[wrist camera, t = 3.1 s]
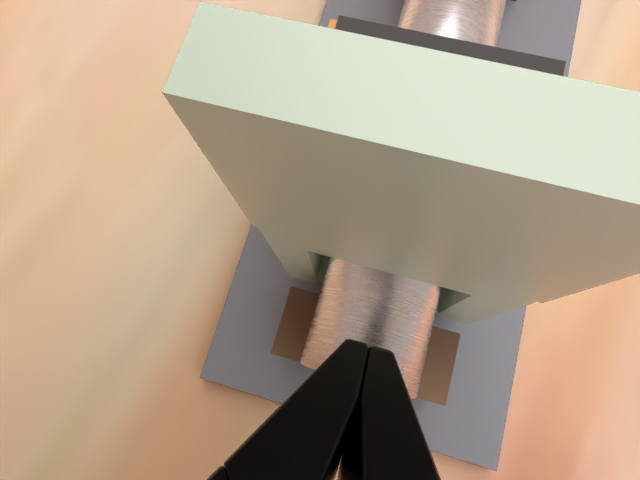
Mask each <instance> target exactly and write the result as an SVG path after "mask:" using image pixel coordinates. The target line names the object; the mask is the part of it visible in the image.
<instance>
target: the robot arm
mask: <svg viewBox="0 0 640 480" xmlns="http://www.w3.org/2000/svg"><path fill="white" fill-rule="evenodd" d="M340 460H341V461H340ZM339 463H340V466H339ZM338 466H339V472H338V479H337V480H441V479H440V476H439V473H438V471H437V468H436V465H435V463H434V460H433V457H432V455H431V452H430V449H429V447H428V444H427V441H426V439H425V436H424V433H423V430H422V428H421V425H420V422H419V420H418V417H417V414H416V412H415V409H414V406H413V404H412V401H411V398H410V395H409V393H408V390H407V387H406V385H405V382H404V379H403V377H402V374H401V371H400V369H399V366H398V363H397V361H396V358H395V355H394V353H393V352H392V351H391V350H388V349H384V348H381V347H377V346H371V347H370V348H369V346H368V344H366V343H363V342H360V341H356V340H353V339H346V340H345V341H344V342H343V343H342V344H341V345H340V346H339V347H338V348H337V349H336V350H335V351H334V352H333V353H332V354H331V355H330V356H329V357H328V358H327V359H326V360H325V361H324V362H323V363H322V364H321V365H320V366H319V367H318V368H317V369H316V370H315V371H314V372H313V373H312V374H311V375H310V376H309V377H308V378H307V379H306V380H305V381H304V382H303V383H302V384H301V385H300V386H299V387H298V388H297V389H296V390H295V391H294V392H293V393H292V394H291V395H290V396H289V397H288V398H287V399H286V400H285V401H284V402H283V403H282V404H281V405H280V406H279V407H278V408H277V409H276V410H275V411H274V412H273V414H272V415H271V416H270V417H269V418H268V419H267V420H266V421H265V422H264V423H263V424H262V425H261V426H260V427H259V428H258V429H257V430H256V431H255V432H254V433H253V434H252V435H251V436H250V437H249V438H248V439H247V440H246V441H245V442H244V443H243V444H242V445H241V446H240V447H239V448H238V449H237V450H236V451H235V452H234V453H233V454H232V455H231V456H230V457H229V458H228V459H227V460H226V461H225V462H224V466H220V467H219V468H218V469H217V470H216V471H215V472H214V473H213V474H212V475H211V476H210V477H209V478H208V479H207V480H334V478H335V475H336V472H337V470H338Z"/></svg>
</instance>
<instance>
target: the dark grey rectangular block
mask: <svg viewBox="0 0 640 480" xmlns="http://www.w3.org/2000/svg"><path fill="white" fill-rule="evenodd" d="M335 29H337V30H341V31H346V32H351V33H356V34H361V35H366V36H370V37H375V38H380V39H385V40H390V41H395V42H400V43H404V44H409V45H414V46H419V47H424V48H429V49H433V50H438V51H443V52H448V53H453V54H458V55H462V56H467V57H472V58H477V59H482V60H487V61H491V62H496V63H501V64H506V65H511V66H516V67H521V68H525V69H530V70H535V71H540V72H545V73H550V74H554V75H559V76H563V75H564V70H565V64H566V61H563V60H558V59H553V58H548V57H543V56H538V55H533V54H528V53H523V52H518V51H513V50H508V49H503V48H498V47H494V46H489V45H484V44H479V43H474V42H469V41H464V40H459V39H454V38H449V37H444V36H439V35H434V34H429V33H424V32H419V31H415V30H410V29H405V28H400V27H395V26H390V25H385V24H380V23H375V22H370V21H365V20H360V19H355V18H350V17H345V16H340V15H339V17H338V20H337V23H336V26H335Z"/></svg>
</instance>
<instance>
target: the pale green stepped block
mask: <svg viewBox="0 0 640 480" xmlns="http://www.w3.org/2000/svg"><path fill="white" fill-rule="evenodd" d="M162 93H163V94H164V96H165V97H166V99H167V100H168V102H169V103H170V105H171V106H172V108H173V109H174V111H175V112H176V113H177V115H178V116H179V118H180V119H181V121H182V122H183V124H184V125H185V127H186V128H187V130H188V131H189V133H190V134H191V136H192V137H193V138H194V140H195V141H196V143H197V144H198V146H199V147H200V149H201V150H202V152H203V153H204V155H205V156H206V158H207V159H208V161H209V162H210V163H211V165H212V166H213V168H214V169H215V171H216V172H217V174H218V175H219V177H220V178H221V180H222V181H223V183H224V184H225V185H226V187H227V188H228V190H229V191H230V193H231V194H232V196H233V197H234V199H235V200H236V202H237V203H238V205H239V206H240V208H241V209H242V210H243V212H244V213H245V215H246V216H247V218H248V219H249V221H250V222H251V224H252V225H253V226H255V227H258V229H259V230H260V232H261V233H262V235H263V236H264V238H265V239H266V241H267V242H268V244H269V246H270V247H271V249H272V250H273V252H274V253H275V255H276V256H277V258H278V259H279V261H280V262H281V264H282V265H283V267H284V268H285V270H286V272H287V273H288V275H289V276H290V277H293V278H296V279H300V280H303V281H307V282H311V283H314V284H318V285H321V286H322V285H323V282H324V278H325V275H326V271H327V268H328V264H329V261H330V258H331V257H332V258H336V259H340V260H343V261H347V262H351V263H355V264H358V265H362V266H366V267H369V268H373V269H377V270H381V271H384V272H388V273H392V274H395V275H399V276H403V277H406V278H410V279H414V280H418V281H421V282H425V283H429V284H432V285H436V286H440V287H441V291H440V296H439V300H438V305H437V309H436V313H435V317H436V318H440V319H443V320H447V321H451V322H454V323H458V324H461V325H466V324H469V323H472V322H475V321H478V320H481V319H484V318H488V317H491V316H494V315H497V314H500V313H503V312H506V311H509V310H512V309H516V308H519V307H522V306H525V305H528V304H531V303H534V302H539V303H544V302H547V301H550V300H554V299H557V298H560V297H563V296H567V295H570V294H573V293H577V292H580V291H583V290H586V289H590V288H593V287H596V286H599V285H603V284H606V283H609V282H612V281H616V280H619V279H622V278H626V277H629V276H632V275H635V274H639V273H640V92H637V91H632V90H627V89H622V88H617V87H612V86H608V85H603V84H598V83H593V82H588V81H583V80H579V79H574V78H569V77H564V76H559V75H554V74H550V73H545V72H540V71H535V70H530V69H525V68H521V67H516V66H511V65H506V64H501V63H496V62H491V61H487V60H482V59H477V58H472V57H467V56H462V55H458V54H453V53H448V52H443V51H438V50H433V49H429V48H424V47H419V46H414V45H409V44H404V43H400V42H395V41H390V40H385V39H380V38H375V37H370V36H366V35H361V34H356V33H351V32H346V31H341V30H337V29H332V28H327V27H322V26H317V25H312V24H308V23H303V22H298V21H293V20H288V19H283V18H279V17H274V16H269V15H264V14H259V13H254V12H249V11H245V10H240V9H235V8H230V7H225V6H220V5H216V4H211V3H206V2H201V1H200V2H199V5H198V7H197V10H196V12H195V14H194V17H193V19H192V22H191V24H190V26H189V29H188V31H187V34H186V36H185V38H184V41H183V43H182V46H181V48H180V50H179V53H178V55H177V58H176V60H175V62H174V65H173V67H172V70H171V72H170V74H169V77H168V79H167V82H166V84H165V86H164V89H163V91H162Z"/></svg>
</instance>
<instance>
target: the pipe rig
mask: <svg viewBox="0 0 640 480" xmlns="http://www.w3.org/2000/svg"><path fill="white" fill-rule="evenodd" d="M580 5H581V0H327V3H326V6H325V9H324V12H323V15H322V18H321V21H320V24H319V26H322V27H327V28H332V29H335V26H336V23H337V20H338V17H339V15H340V16H345V17H350V18H355V19H360V20H365V21H370V22H375V23H380V24H385V25H390V26H395V27H400V28H405V29H410V30H415V31H419V32H424V33H429V34H434V35H439V36H444V37H449V38H454V39H459V40H464V41H469V42H474V43H479V44H484V45H489V46H494V47H498V48H503V49H508V50H513V51H518V52H523V53H528V54H533V55H538V56H543V57H548V58H553V59H558V60H563V61H566V64H565V70H564V75H563V76H564V77H568V71H569V66H570V60H571V55H572V49H573V44H574V38H575V32H576V27H577V21H578V16H579V10H580ZM440 291H441V287H440V286H436V285H432V284H429V283H425V282H421V281H418V280H414V279H410V278H406V277H403V276H399V275H395V274H392V273H388V272H384V271H381V270H377V269H373V268H369V267H366V266H362V265H358V264H355V263H351V262H347V261H343V260H340V259H336V258H332V257H331V258H330V261H329V264H328V268H327V271H326V275H325V278H324V282H323V285H322V286H321V285H318V284H314V283H311V282H307V281H303V280H300V279H296V278H293V277H290V276H289V275H288V273H287V272H286V270H285V268H284V267H283V265H282V264H281V262H280V261H279V259H278V258H277V256H276V255H275V253H274V252H273V250H272V249H271V247H270V246H269V244H268V242H267V241H266V239H265V238H264V236H263V235H262V233H261V232H260V230H259V229H258V227H255V226H253V225H251V228H250V231H249V234H248V237H247V240H246V243H245V246H244V249H243V252H242V255H241V258H240V261H239V264H238V267H237V270H236V272H235V275H234V278H233V281H232V284H231V287H230V290H229V293H228V296H227V299H226V302H225V305H224V308H223V311H222V314H221V317H220V320H219V323H218V326H217V329H216V332H215V335H214V338H213V341H212V344H211V347H210V349H209V352H208V355H207V358H206V361H205V364H204V367H203V370H202V373H201V376H200V378H202V379H205V380H208V381H212V382H215V383H218V384H221V385H224V386H228V387H231V388H234V389H237V390H240V391H243V392H247V393H250V394H253V395H256V396H259V397H263V398H266V399H269V400H272V401H275V402H278V403H283V402H284V401H285V400H286V399H287V398H288V397H289V396H290V395H291V394H292V393H293V392H294V391H295V390H296V389H297V388H298V387H299V386H300V385H301V384H302V383H303V382H304V381H305V380H306V379H307V378H308V377H309V376H310V375H311V374H312V373H313V372H314V371H315V370H316V369H317V368H318V367H319V366H320V365H321V364H322V363H323V362H324V361H325V360H326V359H327V358H328V357H329V356H330V355H331V354H332V353H333V352H334V351H335V350H336V349H337V348H338V347H339V346H340V345H341V344H342V343H343V342H344V341H345V340H346V339H353V340H356V341H360V342H363V343H366V344H368V346H369V348H370V347H371V346H377V347H381V348H384V349H388V350H391V351H392V352H393V353H394V355H395V358H396V361H397V363H398V366H399V369H400V371H401V374H402V377H403V379H404V382H405V385H406V387H407V390H408V393H409V395H410V398H411V401H412V404H413V406H414V409H415V412H416V414H417V417H418V420H419V422H420V425H421V428H422V430H423V433H424V436H425V439H426V441H427V444H428V447H429V449H430V450H431V451H434V452H437V453H441V454H444V455H447V456H450V457H453V458H456V459H460V460H463V461H466V462H469V463H472V464H476V465H479V466H482V467H485V468H488V469H491V470H495V471H497V467H498V461H499V455H500V450H501V444H502V439H503V433H504V428H505V422H506V416H507V411H508V405H509V400H510V394H511V389H512V383H513V378H514V372H515V366H516V361H517V355H518V350H519V344H520V339H521V333H522V327H523V322H524V316H525V311H526V305H525V306H522V307H519V308H516V309H512V310H509V311H506V312H503V313H500V314H497V315H494V316H491V317H488V318H484V319H481V320H478V321H475V322H472V323H469V324H466V325H461V324H458V323H454V322H451V321H447V320H443V319H440V318H436V317H435V313H436V309H437V305H438V300H439V296H440Z"/></svg>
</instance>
